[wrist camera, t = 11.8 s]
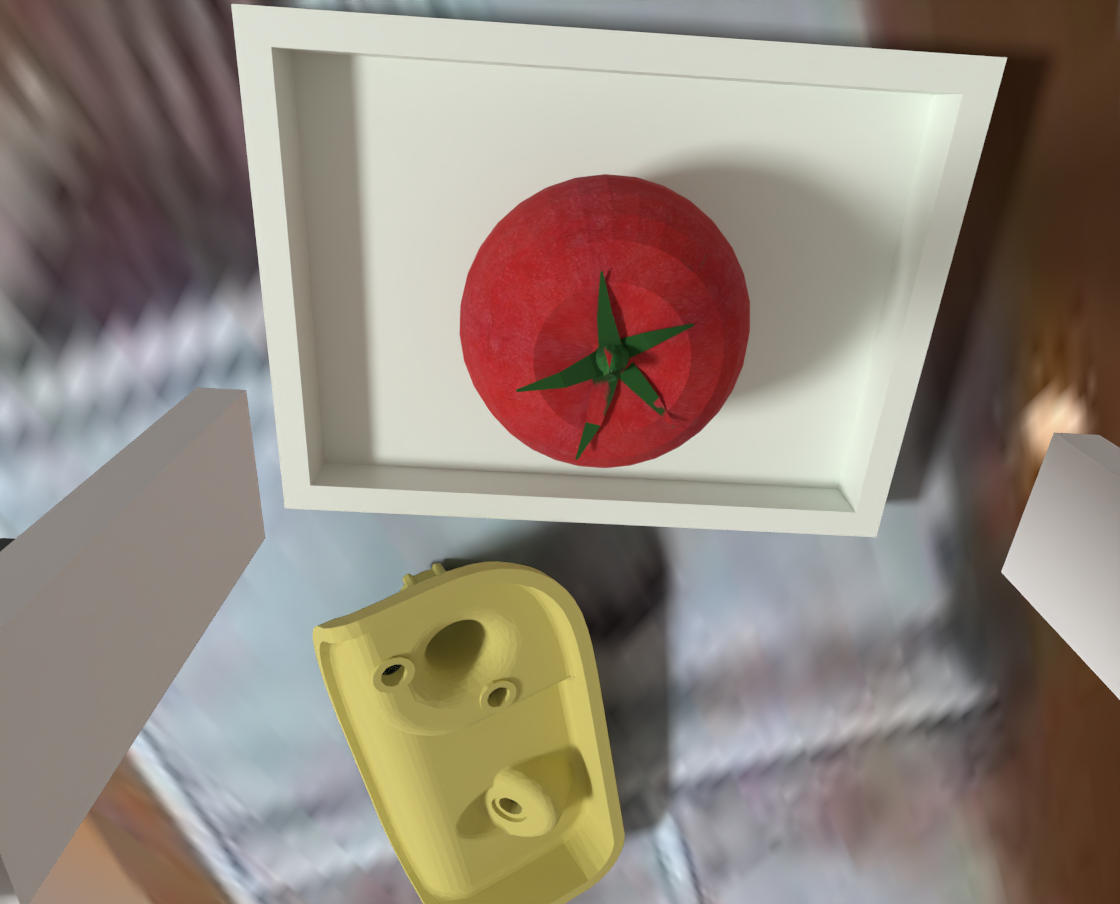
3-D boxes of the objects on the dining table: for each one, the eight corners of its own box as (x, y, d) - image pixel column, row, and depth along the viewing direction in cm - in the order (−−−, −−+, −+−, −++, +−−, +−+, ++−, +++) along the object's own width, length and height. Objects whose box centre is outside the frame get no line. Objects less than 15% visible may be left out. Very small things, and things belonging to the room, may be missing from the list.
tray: (262, 13, 23) (231, 4, 21) (964, 62, 24) (1007, 57, 22) (305, 477, 30) (284, 508, 28) (852, 505, 30) (875, 536, 28)
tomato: (595, 461, 29) (611, 580, 22) (418, 302, 26) (368, 377, 19) (775, 297, 26) (861, 370, 19) (599, 103, 24) (620, 102, 16)
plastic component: (629, 863, 36) (435, 981, 33) (561, 756, 42) (390, 846, 39) (574, 528, 27) (292, 647, 23) (495, 450, 33) (262, 535, 29)
